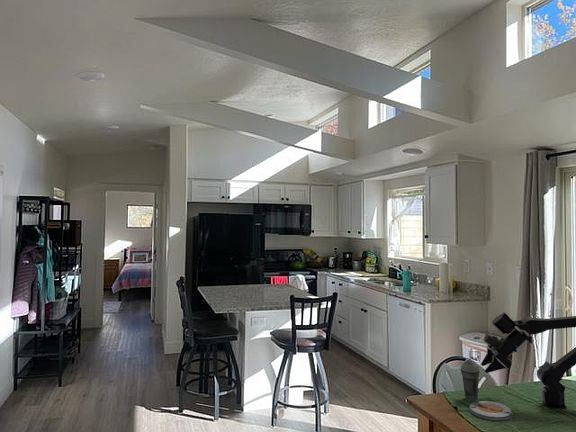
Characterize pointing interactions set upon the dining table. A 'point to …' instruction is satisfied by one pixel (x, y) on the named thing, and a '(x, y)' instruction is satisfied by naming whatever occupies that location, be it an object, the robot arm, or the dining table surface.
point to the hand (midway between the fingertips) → (483, 368)
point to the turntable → (490, 409)
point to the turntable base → (491, 418)
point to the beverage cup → (470, 378)
